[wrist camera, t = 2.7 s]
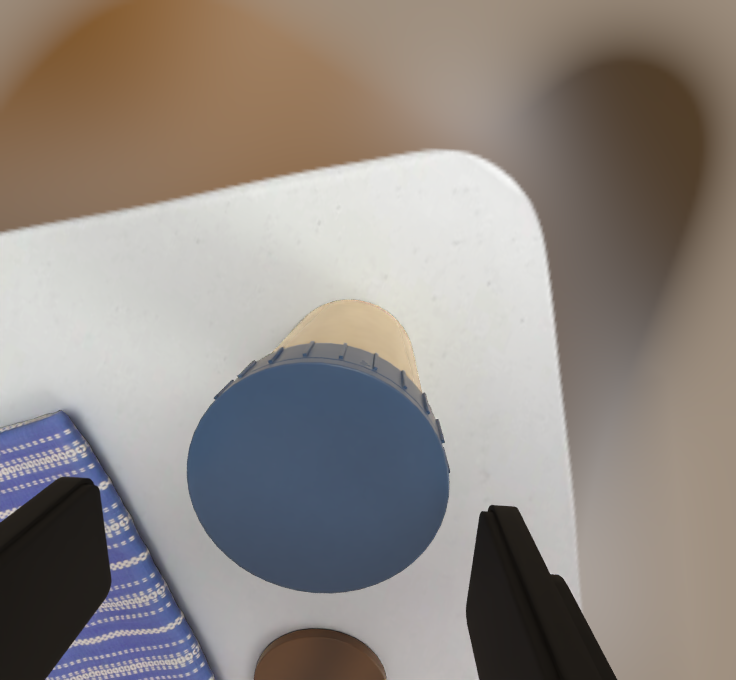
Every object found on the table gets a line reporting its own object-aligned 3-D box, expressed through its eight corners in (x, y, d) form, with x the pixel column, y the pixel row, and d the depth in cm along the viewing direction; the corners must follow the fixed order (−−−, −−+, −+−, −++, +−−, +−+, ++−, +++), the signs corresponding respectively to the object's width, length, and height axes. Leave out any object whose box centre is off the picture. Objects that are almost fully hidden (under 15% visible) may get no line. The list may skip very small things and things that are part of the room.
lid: (454, 348, 12) (467, 370, 10) (430, 555, 14) (437, 605, 12) (206, 332, 12) (175, 351, 10) (216, 539, 14) (192, 585, 12)
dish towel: (32, 740, 31) (-3, 789, 28) (-162, 475, 25) (-228, 505, 23) (239, 698, 29) (224, 747, 26) (79, 400, 23) (38, 423, 20)
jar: (419, 303, 21) (451, 373, 11) (408, 423, 23) (427, 582, 13) (287, 295, 21) (196, 356, 11) (287, 415, 23) (208, 565, 13)
